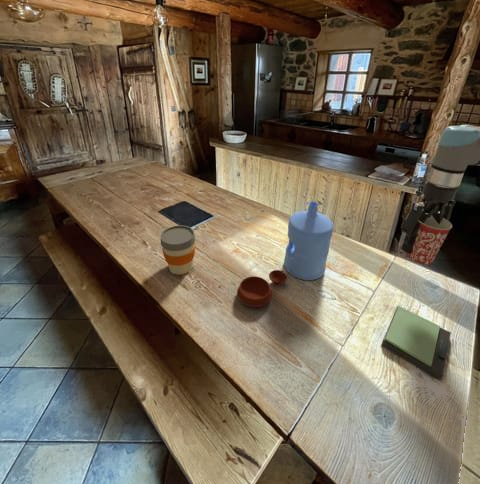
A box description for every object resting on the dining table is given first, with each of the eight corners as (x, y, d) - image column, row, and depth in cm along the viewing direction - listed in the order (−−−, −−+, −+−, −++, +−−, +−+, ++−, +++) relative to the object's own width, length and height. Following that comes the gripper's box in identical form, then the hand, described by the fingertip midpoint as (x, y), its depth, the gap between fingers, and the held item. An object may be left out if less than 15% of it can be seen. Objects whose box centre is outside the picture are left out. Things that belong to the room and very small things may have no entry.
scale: (448, 337, 78) (451, 330, 77) (440, 380, 67) (444, 374, 66) (395, 310, 86) (398, 304, 85) (381, 345, 75) (383, 338, 74)
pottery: (230, 293, 91) (230, 284, 89) (272, 269, 102) (273, 260, 100) (251, 317, 83) (252, 307, 81) (295, 288, 94) (296, 279, 92)
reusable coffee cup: (201, 271, 101) (199, 239, 94) (168, 282, 96) (164, 248, 89) (191, 252, 111) (189, 221, 104) (161, 261, 106) (156, 229, 99)
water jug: (329, 263, 106) (342, 201, 94) (316, 287, 94) (329, 220, 82) (293, 249, 114) (301, 190, 102) (277, 270, 102) (283, 206, 90)
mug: (443, 268, 79) (460, 229, 73) (412, 266, 80) (426, 228, 74) (420, 242, 90) (433, 208, 85) (392, 241, 91) (404, 206, 85)
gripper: (456, 174, 80) (431, 237, 90) (401, 181, 75) (381, 247, 84) (483, 184, 74) (453, 250, 83) (424, 193, 68) (400, 262, 78)
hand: (416, 248), depth 84 cm, fingers closed on mug, 8 cm apart
